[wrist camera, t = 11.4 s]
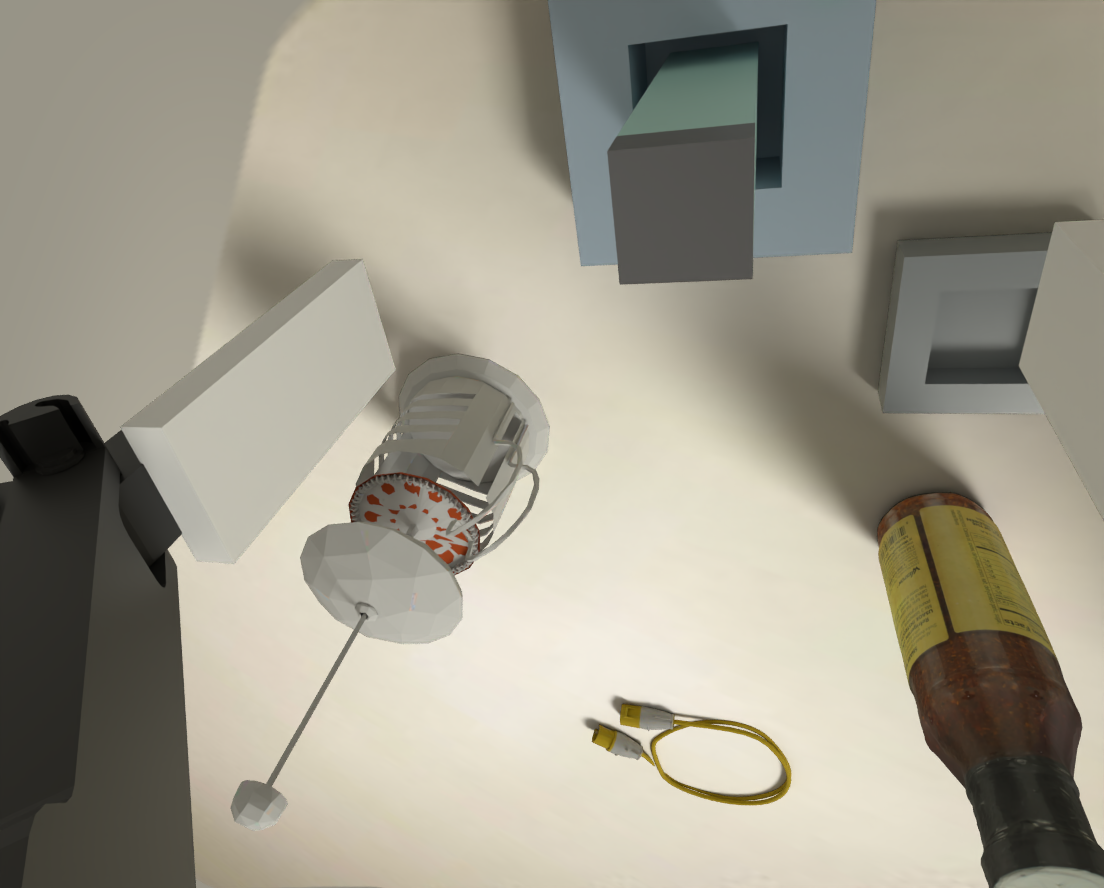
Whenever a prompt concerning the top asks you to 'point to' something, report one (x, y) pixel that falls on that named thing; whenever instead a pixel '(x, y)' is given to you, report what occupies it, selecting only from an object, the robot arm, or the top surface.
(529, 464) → the french press
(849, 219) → the port
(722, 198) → the plug
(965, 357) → the holster
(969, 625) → the sauce bottle
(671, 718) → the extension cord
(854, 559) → the top surface
